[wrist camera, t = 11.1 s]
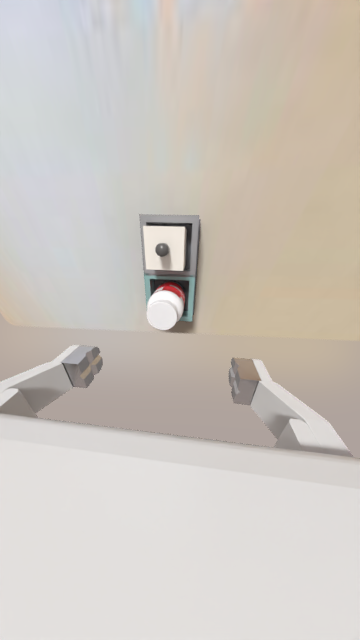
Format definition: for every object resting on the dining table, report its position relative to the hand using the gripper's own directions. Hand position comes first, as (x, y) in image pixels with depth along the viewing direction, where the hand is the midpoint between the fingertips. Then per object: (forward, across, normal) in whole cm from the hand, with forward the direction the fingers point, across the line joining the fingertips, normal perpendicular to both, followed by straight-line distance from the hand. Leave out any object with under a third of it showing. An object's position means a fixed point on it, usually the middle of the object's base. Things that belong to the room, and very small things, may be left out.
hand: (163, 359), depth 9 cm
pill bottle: (+24, +3, +4) cm, 25 cm away
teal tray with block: (+26, +3, -1) cm, 27 cm away
